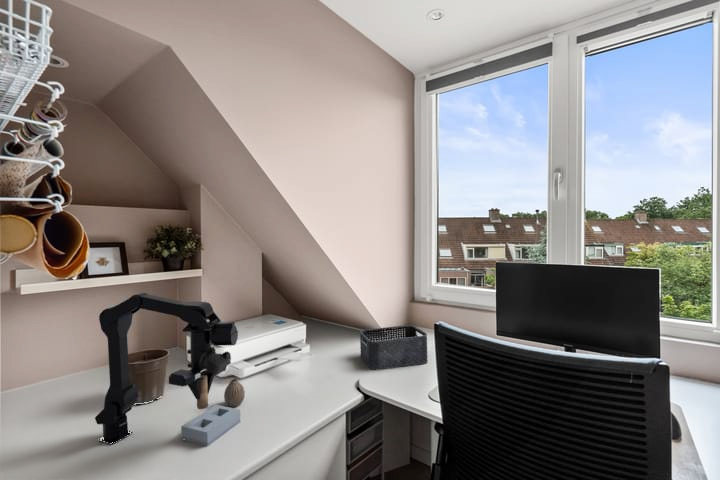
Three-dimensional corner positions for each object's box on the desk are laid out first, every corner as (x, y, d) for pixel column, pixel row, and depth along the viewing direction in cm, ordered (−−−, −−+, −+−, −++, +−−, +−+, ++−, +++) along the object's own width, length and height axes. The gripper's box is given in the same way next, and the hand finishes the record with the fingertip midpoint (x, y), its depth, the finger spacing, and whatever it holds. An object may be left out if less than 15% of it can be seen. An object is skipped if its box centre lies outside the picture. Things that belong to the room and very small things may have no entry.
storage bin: (370, 371, 158) (370, 341, 157) (358, 356, 176) (358, 329, 176) (430, 364, 165) (430, 334, 165) (412, 350, 184) (412, 324, 184)
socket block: (181, 439, 108) (181, 426, 108) (216, 416, 121) (215, 404, 121) (207, 446, 104) (207, 432, 104) (240, 421, 117) (240, 409, 117)
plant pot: (171, 385, 146) (170, 345, 146) (169, 402, 132) (168, 358, 131) (124, 393, 139) (122, 352, 139) (116, 412, 125) (115, 366, 124)
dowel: (194, 408, 108) (194, 378, 108) (202, 403, 111) (201, 374, 111) (202, 409, 107) (201, 379, 107) (210, 405, 110) (209, 375, 110)
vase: (237, 398, 134) (237, 374, 134) (248, 403, 130) (248, 379, 129) (220, 405, 129) (219, 380, 128) (231, 411, 124) (230, 385, 124)
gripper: (197, 358, 97) (198, 416, 97) (243, 339, 114) (244, 388, 115) (166, 354, 101) (168, 409, 101) (215, 335, 118) (216, 383, 119)
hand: (202, 396), depth 109 cm, fingers closed on dowel, 3 cm apart
